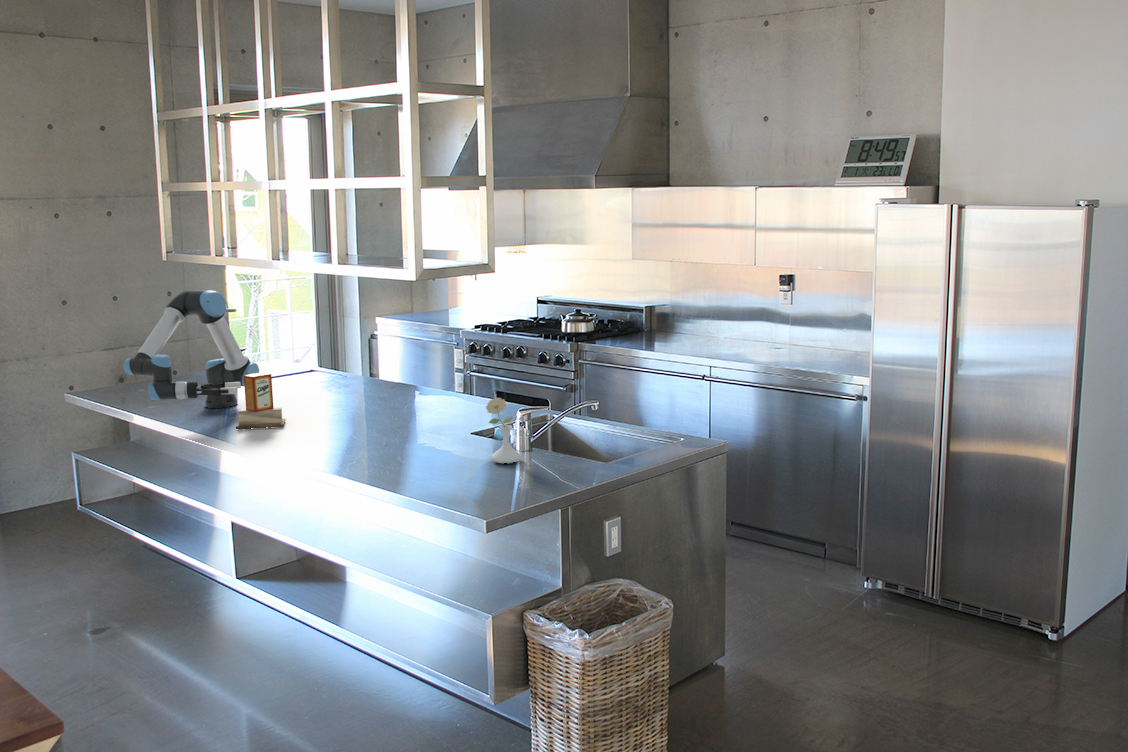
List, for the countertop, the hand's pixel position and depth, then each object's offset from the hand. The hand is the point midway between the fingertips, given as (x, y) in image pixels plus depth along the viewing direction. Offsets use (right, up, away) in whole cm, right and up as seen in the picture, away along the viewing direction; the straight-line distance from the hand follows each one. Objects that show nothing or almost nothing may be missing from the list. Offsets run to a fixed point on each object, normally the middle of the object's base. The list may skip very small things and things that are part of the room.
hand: (238, 387), depth 413 cm
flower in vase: (+121, -28, -58) cm, 137 cm away
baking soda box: (+8, -10, +3) cm, 13 cm away
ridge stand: (+8, -17, +5) cm, 20 cm away
